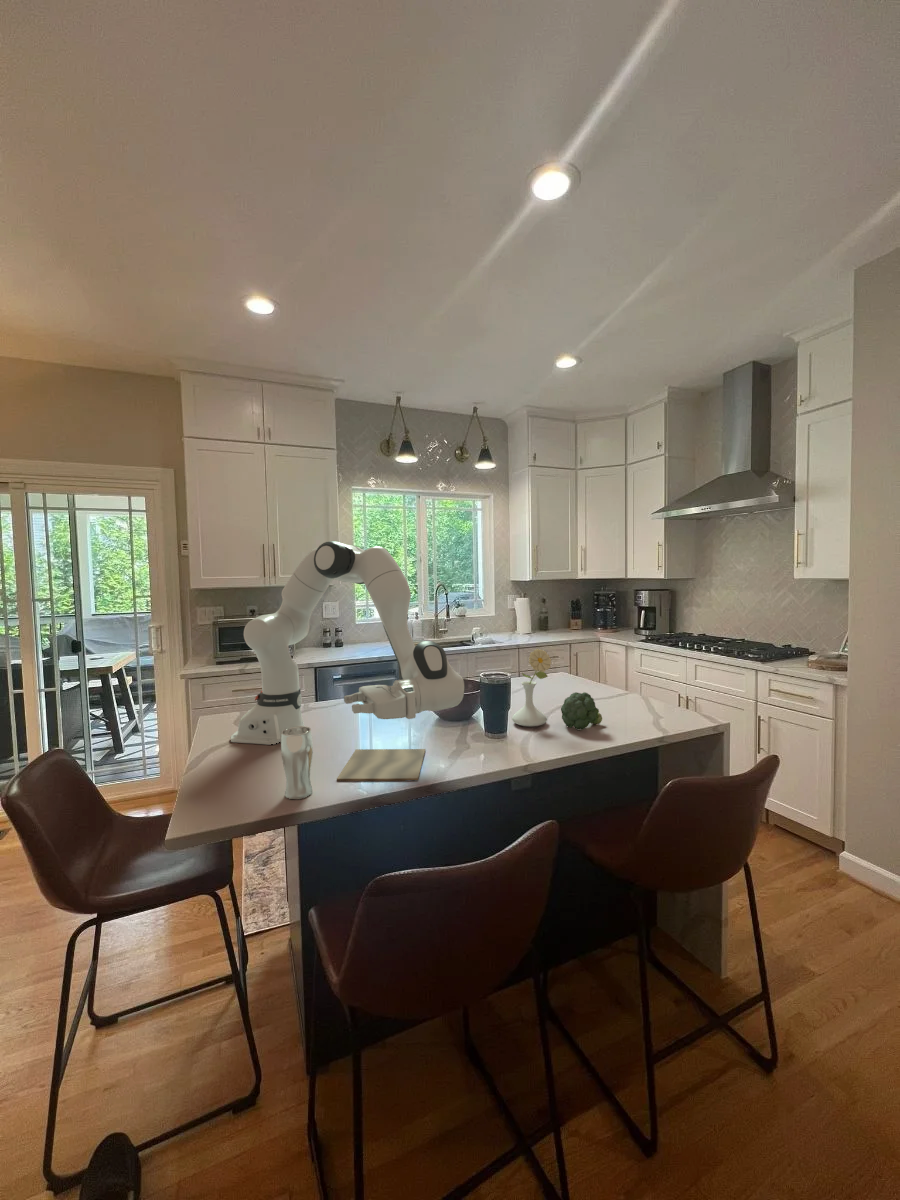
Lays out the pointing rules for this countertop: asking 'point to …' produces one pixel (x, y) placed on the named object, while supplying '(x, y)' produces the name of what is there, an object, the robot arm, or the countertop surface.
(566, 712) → the vegetable
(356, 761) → the tan wooden board
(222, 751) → the countertop surface
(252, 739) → the robot arm
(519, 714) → the flower in vase
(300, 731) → the beer glass
